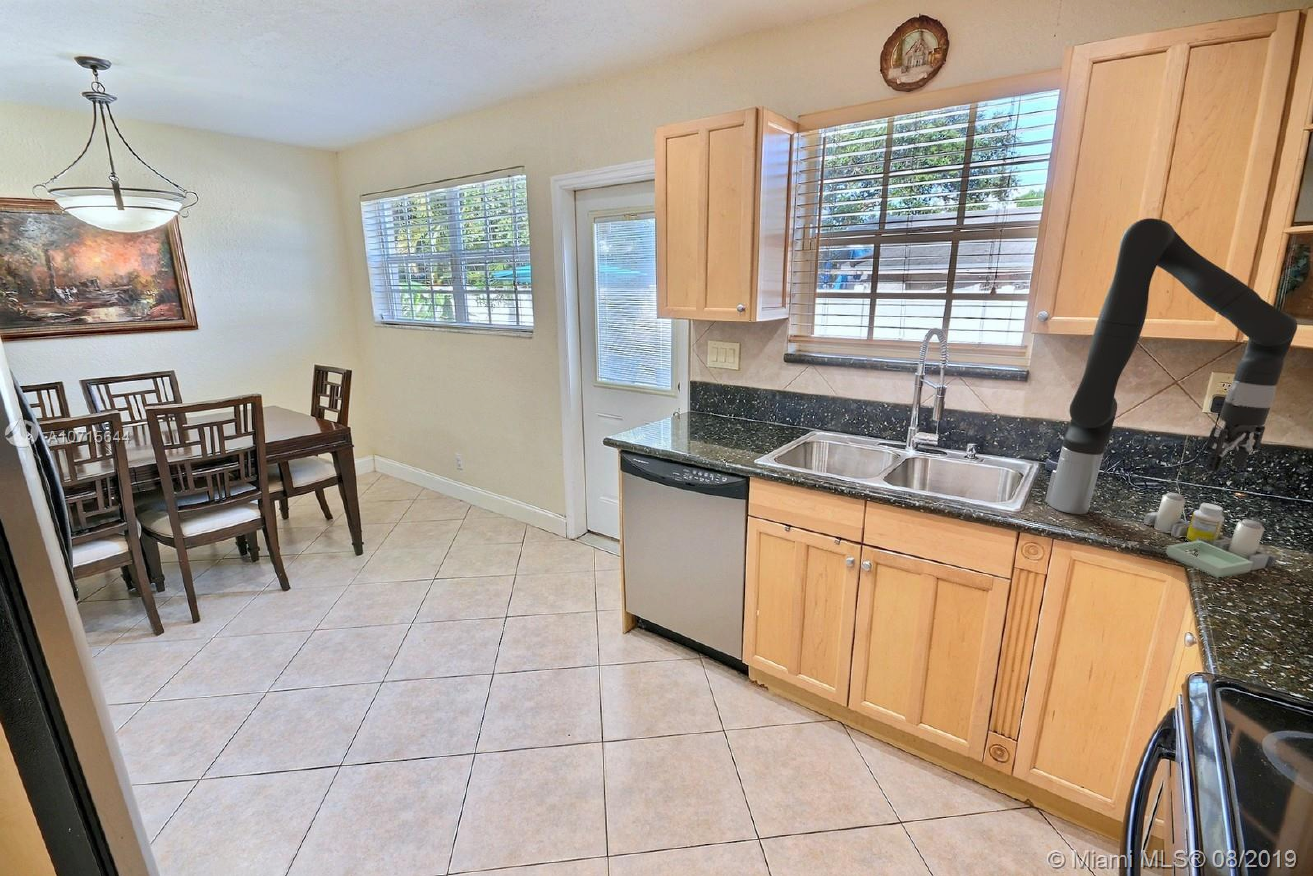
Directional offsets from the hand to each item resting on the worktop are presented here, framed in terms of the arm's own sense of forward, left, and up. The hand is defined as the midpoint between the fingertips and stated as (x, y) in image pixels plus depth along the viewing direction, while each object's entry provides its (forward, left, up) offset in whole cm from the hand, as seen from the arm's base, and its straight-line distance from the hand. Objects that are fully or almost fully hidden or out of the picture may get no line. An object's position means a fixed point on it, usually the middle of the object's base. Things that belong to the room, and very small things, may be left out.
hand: (1224, 469), depth 137 cm
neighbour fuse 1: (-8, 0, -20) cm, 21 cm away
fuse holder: (0, +2, -20) cm, 20 cm away
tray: (+7, -9, -20) cm, 23 cm away
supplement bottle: (0, 0, -20) cm, 20 cm away
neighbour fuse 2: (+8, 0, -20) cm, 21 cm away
